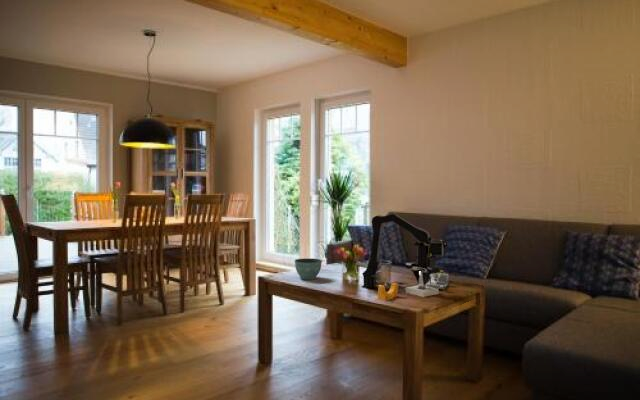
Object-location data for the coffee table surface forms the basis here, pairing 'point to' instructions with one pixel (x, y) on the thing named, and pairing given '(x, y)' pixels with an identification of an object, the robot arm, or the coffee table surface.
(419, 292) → the rack block
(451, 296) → the coffee table surface
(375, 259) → the robot arm
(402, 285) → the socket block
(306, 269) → the flower pot
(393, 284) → the pipe clamp
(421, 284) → the steel peg
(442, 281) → the phone holder
